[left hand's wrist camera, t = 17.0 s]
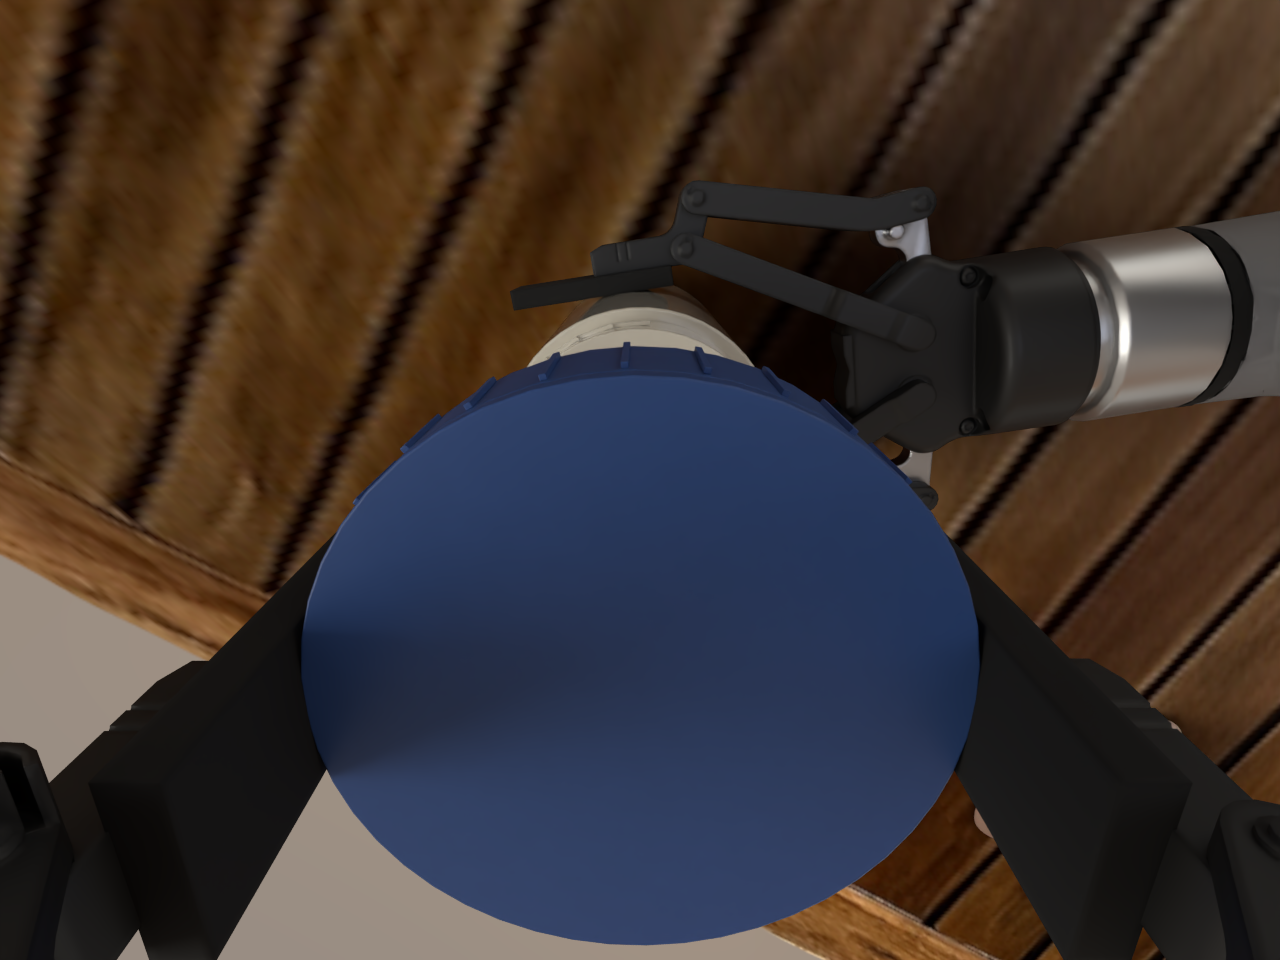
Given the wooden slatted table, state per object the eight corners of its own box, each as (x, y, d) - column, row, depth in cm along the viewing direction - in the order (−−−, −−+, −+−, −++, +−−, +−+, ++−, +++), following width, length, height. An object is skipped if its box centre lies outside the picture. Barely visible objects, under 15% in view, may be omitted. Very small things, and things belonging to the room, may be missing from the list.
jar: (543, 286, 35) (471, 327, 20) (725, 271, 35) (788, 302, 20) (563, 458, 39) (513, 605, 23) (730, 446, 38) (789, 587, 23)
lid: (734, 904, 15) (750, 1019, 13) (277, 716, 13) (205, 813, 11) (1045, 523, 12) (1136, 589, 10) (501, 215, 10) (463, 212, 8)
